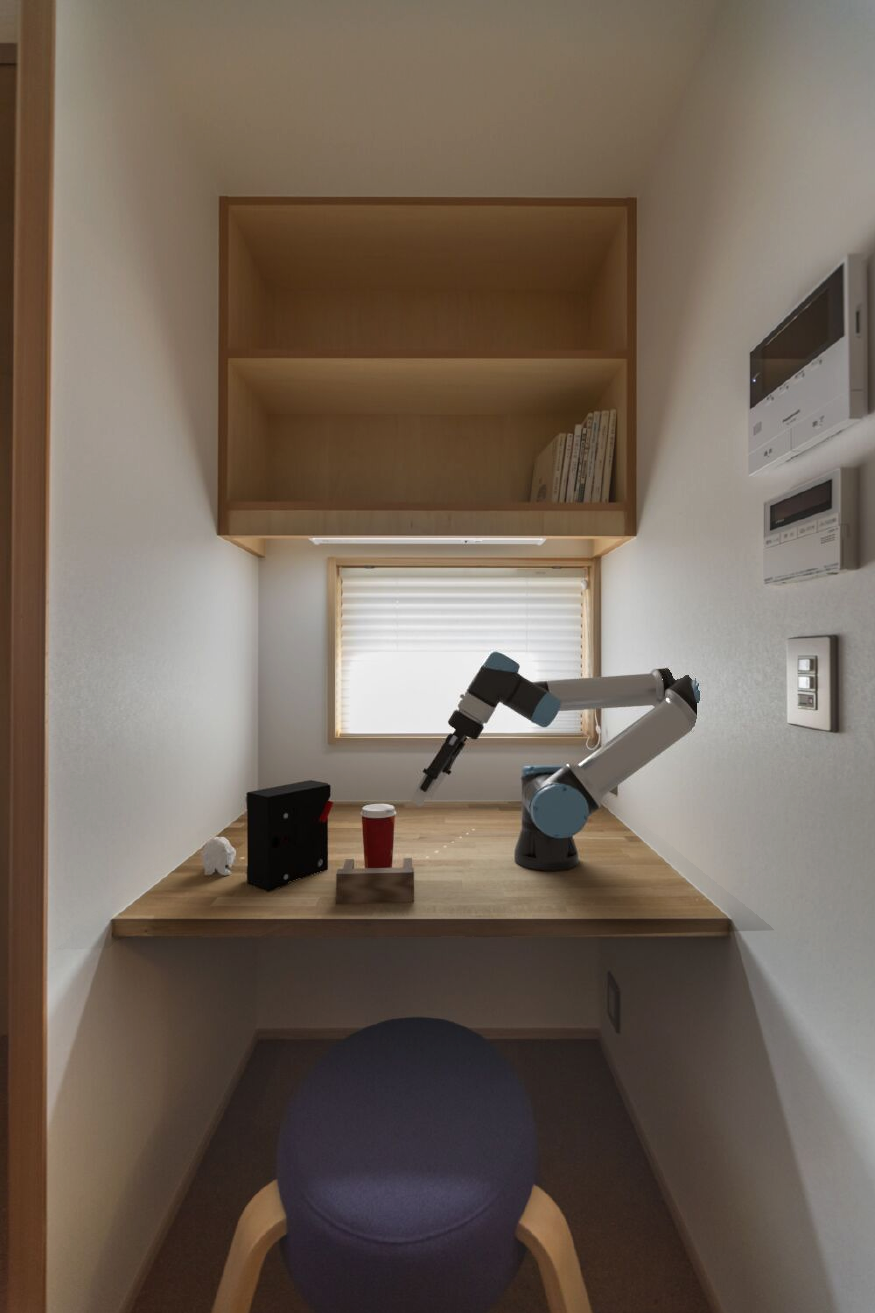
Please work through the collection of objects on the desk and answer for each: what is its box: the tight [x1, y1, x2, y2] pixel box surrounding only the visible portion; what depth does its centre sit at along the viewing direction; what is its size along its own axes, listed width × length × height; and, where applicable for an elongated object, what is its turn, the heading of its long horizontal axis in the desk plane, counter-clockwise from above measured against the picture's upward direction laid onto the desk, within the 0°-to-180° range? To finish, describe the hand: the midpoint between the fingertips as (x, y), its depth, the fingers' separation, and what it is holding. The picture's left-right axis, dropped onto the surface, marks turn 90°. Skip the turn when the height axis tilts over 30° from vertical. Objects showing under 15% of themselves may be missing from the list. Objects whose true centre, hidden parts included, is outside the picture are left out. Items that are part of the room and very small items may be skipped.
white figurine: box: [200, 836, 238, 877], centre depth 151 cm, size 6×8×12 cm
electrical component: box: [245, 779, 334, 893], centre depth 147 cm, size 18×10×20 cm, turn 141°
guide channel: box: [335, 857, 415, 905], centre depth 143 cm, size 16×22×6 cm
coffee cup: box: [359, 803, 397, 868], centre depth 149 cm, size 8×8×15 cm
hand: (421, 799), depth 145 cm, fingers open, 13 cm apart
